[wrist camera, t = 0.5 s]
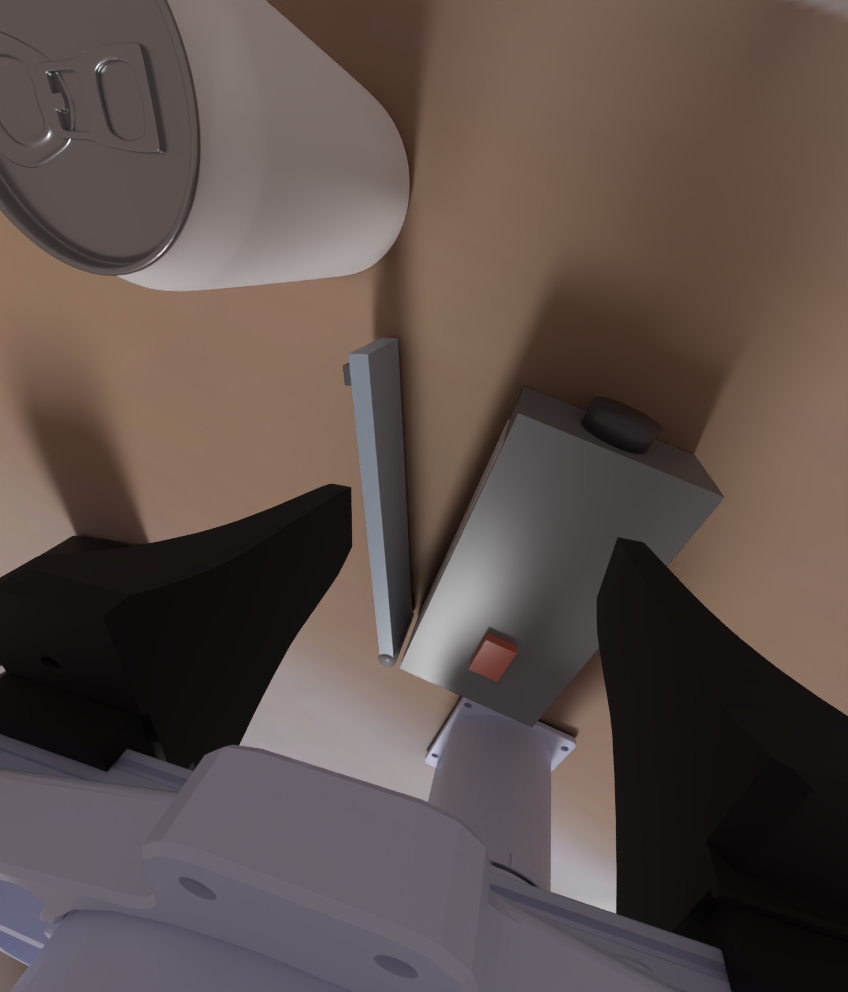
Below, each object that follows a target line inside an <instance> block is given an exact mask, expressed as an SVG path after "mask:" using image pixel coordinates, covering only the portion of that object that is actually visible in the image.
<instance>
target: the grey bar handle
mask: <svg viewBox="0 0 848 992" xmlns="http://www.w3.org/2000/svg"><path fill="white" fill-rule="evenodd" d="M348 357H349V363H347V364H345V365H343V371H344V380H345V385H349V386H352V395H353V405H354V414H355V424H356V433H357V443H358V452H359V462H360V471H361V481H362V491H363V500H364V510H365V519H366V529H367V538H368V548H369V557H370V567H371V577H372V586H373V596H374V605H375V615H376V624H377V634H378V643H379V653H380V655H379V658H378V659H379V662H380V663H381V664H382V665H384V666H387V667H392V666H394V665H395V663H396V661H397V658H398V655H399V653H400V650H401V648H402V645H403V643H404V640H405V637H406V635H407V632H408V630H409V627H410V624H411V622H412V619H413V617H414V613H413V611H412V598H411V579H410V560H409V540H408V521H407V502H406V483H405V464H404V445H403V426H402V407H401V388H400V368H399V349H398V338H380V339H378V340H376V341H374V342H372V343H370V344H368V345H366V346H364V347H361V348H359V349H357V350H355V351H353V352H351V353H349V354H348Z"/></svg>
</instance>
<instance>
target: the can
mask: <svg viewBox="0 0 848 992" xmlns="http://www.w3.org/2000/svg"><path fill="white" fill-rule="evenodd" d="M409 191H410V177H409V167H408V161H407V156H406V152H405V148H404V145H403V142H402V139H401V137H400V134H399V132H398V130H397V128H396V126H395V124H394V122H393V120H392V119H391V117H390V116H389V114H388V113H387V112H386V110H385V109H384V108H383V106H382V105H381V104H380V103H379V102H378V101H377V100H376V99H375V98H374V97H373V96H372V95H371V94H370V93H369V92H368V91H367V90H366V89H365V88H364V87H363V86H362V85H361V84H360V83H358V82H357V81H356V80H355V79H354V78H353V77H352V76H351V75H350V74H348V73H347V72H346V71H345V70H344V69H343V68H342V67H341V66H340V65H338V64H337V63H336V62H335V61H334V60H333V59H332V58H331V57H329V56H328V55H327V54H326V53H325V52H324V51H323V50H321V49H320V48H319V47H318V46H317V45H316V44H315V43H314V42H312V41H311V40H310V39H309V38H308V37H307V36H306V35H305V34H303V33H302V32H301V31H300V30H299V29H298V28H297V27H295V26H294V25H293V24H292V23H291V22H290V21H289V20H288V19H286V18H285V17H284V16H283V15H282V14H281V13H280V12H278V11H277V10H276V9H275V8H274V7H273V6H272V5H270V4H269V3H268V2H267V1H266V0H0V210H1V211H2V213H3V214H4V215H5V216H6V217H7V218H8V219H9V220H10V221H11V222H12V223H13V224H14V225H15V226H16V227H17V228H18V229H19V230H20V231H21V232H22V233H23V234H24V235H25V236H26V237H27V238H29V239H30V240H31V241H32V242H33V243H35V244H36V245H37V246H38V247H40V248H41V249H42V250H44V251H45V252H47V253H48V254H50V255H51V256H53V257H55V258H56V259H58V260H60V261H62V262H64V263H66V264H68V265H70V266H72V267H74V268H77V269H80V270H82V271H86V272H89V273H94V274H99V275H108V276H118V277H120V278H122V279H125V280H127V281H129V282H132V283H135V284H138V285H140V286H144V287H147V288H151V289H157V290H166V291H194V290H208V289H220V288H231V287H241V286H252V285H262V284H272V283H282V282H292V281H301V280H311V279H320V278H329V277H337V276H345V275H350V274H354V273H358V272H360V271H363V270H365V269H367V268H369V267H371V266H372V265H374V264H375V263H376V262H378V261H379V260H380V259H381V258H382V257H383V256H384V255H385V254H386V253H387V252H388V251H389V249H390V248H391V247H392V245H393V244H394V242H395V240H396V239H397V237H398V235H399V233H400V231H401V228H402V226H403V223H404V220H405V216H406V212H407V208H408V202H409Z"/></svg>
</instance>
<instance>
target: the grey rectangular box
mask: <svg viewBox="0 0 848 992" xmlns="http://www.w3.org/2000/svg"><path fill="white" fill-rule="evenodd" d="M661 430H662V428H661V427H660V425H659V424H658V423H657V422H655V421H654V420H653V419H651V418H650V417H648V416H647V415H645V414H643V413H642V412H640V411H638V410H636V409H634V408H632V407H630V406H627V405H625V404H623V403H620V402H618V401H615V400H611V399H608V398H603V397H595V398H594V399H593V401H592V403H591V404H590V406H589V408H588V410H587V411H585V410H583V409H580V408H578V407H575V406H573V405H570V404H568V403H565V402H563V401H560V400H558V399H555V398H553V397H550V396H548V395H546V394H543V393H541V392H538V391H536V390H533V389H531V388H528V387H526V386H524V388H523V390H522V392H521V394H520V396H519V399H518V401H517V403H516V405H515V407H514V409H513V412H512V414H511V416H510V418H509V419H508V421H507V423H506V425H505V427H504V429H503V431H502V434H501V436H500V438H499V440H498V442H497V445H496V447H495V449H494V451H493V453H492V456H491V458H490V460H489V462H488V464H487V466H486V469H485V471H484V473H483V475H482V477H481V480H480V482H479V484H478V486H477V488H476V490H475V493H474V495H473V497H472V499H471V501H470V504H469V506H468V508H467V510H466V512H465V515H464V517H463V519H462V521H461V523H460V525H459V528H458V530H457V532H456V534H455V536H454V539H453V541H452V543H451V545H450V547H449V550H448V552H447V554H446V556H445V558H444V560H443V563H442V565H441V567H440V569H439V571H438V574H437V576H436V578H435V580H434V582H433V584H432V587H431V589H430V591H429V593H428V595H427V598H426V600H425V602H424V604H423V606H422V609H421V611H420V614H419V617H418V619H417V622H416V624H415V627H414V630H413V632H412V635H411V638H410V640H409V643H408V646H407V648H406V651H405V654H404V656H403V659H402V662H401V664H400V667H399V668H400V669H402V670H405V671H407V672H409V673H411V674H413V675H416V676H418V677H420V678H422V679H425V680H427V681H429V682H431V683H433V684H436V685H438V686H440V687H442V688H445V689H447V690H449V691H451V692H453V693H456V694H458V695H460V696H462V697H465V698H467V699H469V700H471V701H473V702H476V703H478V704H480V705H482V706H485V707H487V708H489V709H491V710H494V711H496V712H498V713H500V714H502V715H505V716H507V717H509V718H511V719H514V720H516V721H518V722H520V723H522V724H525V725H527V726H529V727H531V728H533V726H534V725H535V724H536V723H537V722H538V720H539V719H540V718H541V717H542V716H543V714H544V713H545V712H546V711H547V710H548V708H549V707H550V706H551V705H552V704H553V702H554V701H555V700H556V699H557V698H558V696H559V695H560V694H561V693H562V692H563V690H564V689H565V688H566V687H567V686H568V684H569V683H570V682H571V681H572V680H573V678H574V677H575V676H576V675H577V674H578V672H579V671H580V670H581V669H582V668H583V666H584V665H585V664H586V663H587V662H588V660H589V659H590V658H591V657H592V656H593V654H594V653H595V652H596V651H597V650H598V648H599V643H598V636H597V596H598V593H599V590H600V587H601V584H602V581H603V578H604V575H605V572H606V569H607V567H608V564H609V561H610V558H611V555H612V552H613V549H614V546H615V543H616V540H617V537H619V538H625V539H630V540H635V541H641V542H644V543H645V544H646V545H647V546H648V547H649V548H650V549H651V550H652V551H653V552H654V553H655V554H656V556H657V557H658V558H659V559H660V560H661V561H662V562H663V563H664V564H665V565H666V566H668V564H669V563H670V562H671V561H672V560H673V558H674V557H675V556H676V555H677V554H678V552H679V551H680V550H681V549H682V548H683V546H684V545H685V544H686V543H687V542H688V540H689V539H690V538H691V537H692V536H693V534H694V533H695V532H696V531H697V530H698V528H699V527H700V526H701V525H702V524H703V522H704V521H705V520H706V519H707V518H708V516H709V515H710V514H711V513H712V512H713V510H714V509H715V508H716V507H717V506H718V504H719V503H720V502H721V501H722V500H723V498H724V496H723V494H722V493H721V492H720V490H719V489H718V487H717V486H716V485H715V483H714V482H713V480H712V479H711V477H710V476H709V475H708V473H707V472H706V470H705V469H704V468H703V466H702V465H701V463H700V462H699V460H698V459H697V458H696V456H695V455H694V454H692V453H689V452H687V451H684V450H682V449H679V448H677V447H674V446H672V445H669V444H667V443H664V442H662V441H659V440H657V439H656V438H657V436H658V435H659V433H660V432H661Z"/></svg>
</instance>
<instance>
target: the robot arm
mask: <svg viewBox="0 0 848 992" xmlns="http://www.w3.org/2000/svg"><path fill="white" fill-rule="evenodd" d="M351 548H352V507H351V487H347V486H342V485H336V484H328V485H325V486H322V487H320V488H317V489H315V490H312V491H310V492H308V493H305V494H303V495H301V496H298V497H296V498H294V499H291V500H289V501H287V502H284V503H282V504H280V505H277V506H275V507H273V508H270V509H267V510H265V511H262V512H260V513H257V514H254V515H252V516H249V517H246V518H244V519H241V520H238V521H235V522H233V523H229V524H226V525H223V526H220V527H216V528H213V529H210V530H206V531H203V532H199V533H195V534H191V535H186V536H182V537H177V538H172V539H168V540H163V541H159V542H154V543H148V544H142V545H136V546H130V547H123V548H116V549H108V550H100V551H90V552H78V553H67V554H55V555H40V556H38V557H36V558H34V559H32V560H30V561H29V562H27V563H25V564H23V565H22V566H20V567H18V568H17V569H15V570H13V571H11V572H10V573H8V574H6V575H5V576H3V577H1V578H0V662H1V664H2V666H3V668H4V669H5V671H6V672H7V673H6V674H5V675H4V676H2V677H1V678H0V951H1V952H3V953H5V954H7V955H9V956H11V957H13V958H14V959H16V960H18V961H20V962H22V963H24V964H26V965H27V966H29V967H28V968H27V970H26V971H25V972H24V974H23V975H22V976H21V978H20V979H19V980H18V982H17V983H16V984H15V986H14V987H13V989H12V990H11V991H10V992H848V716H847V715H845V714H844V713H842V712H841V711H839V710H837V709H836V708H834V707H833V706H831V705H830V704H828V703H827V702H825V701H824V700H822V699H821V698H819V697H818V696H816V695H815V694H813V693H812V692H811V691H809V690H808V689H806V688H805V687H803V686H802V685H801V684H799V683H798V682H796V681H795V680H794V679H792V678H791V677H789V676H788V675H786V674H785V673H784V672H782V671H781V670H780V669H778V668H777V667H776V666H774V665H773V664H772V663H770V662H769V661H768V660H766V659H765V658H764V657H763V656H761V655H760V654H759V653H758V652H756V651H755V650H754V649H753V648H752V647H750V646H749V645H748V644H747V643H745V642H744V641H743V640H742V639H740V638H739V637H738V636H737V635H736V634H735V633H733V632H732V631H731V630H730V629H729V628H728V627H727V626H725V625H724V624H723V623H722V622H721V621H720V620H719V619H718V618H717V617H716V616H715V615H714V614H713V613H711V612H710V611H709V610H708V609H707V608H706V607H705V606H704V605H703V604H702V603H701V602H700V601H699V600H698V599H697V598H696V597H695V596H694V595H693V594H692V593H691V592H690V591H689V590H688V589H687V588H686V587H685V586H684V585H683V584H682V583H681V581H680V580H679V579H678V578H677V577H676V576H675V575H674V574H673V573H672V572H671V571H670V570H669V569H668V568H667V566H666V565H665V564H664V563H663V562H662V561H661V560H660V559H659V558H658V557H657V556H656V554H655V553H654V552H653V551H652V550H651V549H650V548H649V547H648V546H647V545H646V544H645V543H644V542H641V541H635V540H630V539H625V538H619V537H617V540H616V543H615V546H614V549H613V552H612V555H611V558H610V561H609V564H608V567H607V569H606V572H605V575H604V578H603V581H602V584H601V587H600V590H599V593H598V596H597V636H598V643H599V649H600V655H601V662H602V668H603V674H604V680H605V686H606V692H607V698H608V705H609V711H610V718H611V727H612V738H613V757H614V778H615V807H616V863H617V896H616V914H615V913H612V912H609V911H606V910H603V909H600V908H597V907H594V906H591V905H588V904H585V903H582V902H579V901H576V900H574V899H571V898H568V897H565V896H562V895H559V894H556V893H553V892H551V772H552V771H553V770H554V769H555V768H556V767H557V766H558V765H559V764H560V763H561V762H562V761H563V760H564V758H565V757H566V756H567V755H568V754H569V753H570V752H571V751H572V750H573V749H574V748H575V747H576V740H575V738H574V737H572V736H570V735H568V734H566V733H563V732H561V731H559V730H557V729H554V728H552V727H550V726H548V725H546V724H543V723H541V722H539V721H538V722H537V723H536V724H535V725H534V726H533V728H531V727H529V726H527V725H525V724H522V723H520V722H518V721H516V720H514V719H511V718H509V717H507V716H505V715H502V714H500V713H498V712H496V711H494V710H491V709H489V708H487V707H485V706H482V705H480V704H478V703H476V702H473V701H471V700H469V699H467V698H465V697H462V699H461V700H460V702H459V703H458V705H457V707H456V708H455V710H454V711H453V713H452V714H451V716H450V718H449V719H448V721H447V722H446V724H445V726H444V727H443V729H442V730H441V732H440V733H439V735H438V737H437V738H436V740H435V741H434V743H433V745H432V746H431V748H430V749H429V751H428V753H427V754H426V757H425V762H426V763H427V764H429V765H431V766H433V767H435V768H436V769H435V774H434V778H433V782H432V787H431V791H430V795H429V800H428V802H426V801H424V800H422V799H418V798H415V797H412V796H409V795H406V794H403V793H399V792H396V791H393V790H390V789H387V788H384V787H381V786H377V785H374V784H371V783H368V782H365V781H362V780H358V779H355V778H352V777H349V776H346V775H343V774H340V773H336V772H333V771H330V770H327V769H324V768H321V767H317V766H314V765H311V764H308V763H305V762H302V761H298V760H295V759H292V758H289V757H286V756H283V755H280V754H276V753H273V752H270V751H267V750H264V749H259V748H252V747H245V746H239V744H240V742H241V740H242V738H243V736H244V734H245V732H246V730H247V728H248V725H249V723H250V721H251V719H252V717H253V715H254V713H255V711H256V709H257V707H258V705H259V703H260V701H261V699H262V697H263V695H264V693H265V691H266V689H267V687H268V685H269V683H270V681H271V680H272V678H273V676H274V674H275V672H276V670H277V668H278V666H279V665H280V663H281V661H282V659H283V657H284V655H285V654H286V652H287V650H288V648H289V646H290V645H291V643H292V642H293V640H294V638H295V637H296V635H297V634H298V632H299V631H300V629H301V628H302V626H303V625H304V624H305V622H306V621H307V619H308V618H309V616H310V615H311V613H312V612H313V611H314V609H315V608H316V606H317V605H318V603H319V602H320V601H321V599H322V598H323V596H324V595H325V593H326V592H327V590H328V589H329V587H330V586H331V585H332V583H333V582H334V580H335V579H336V577H337V576H338V574H339V572H340V570H341V568H342V566H343V564H344V562H345V560H346V558H347V556H348V554H349V552H350V550H351Z"/></svg>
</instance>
